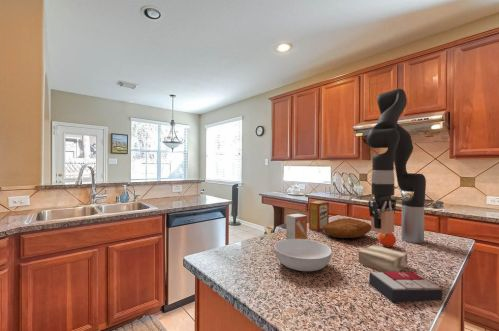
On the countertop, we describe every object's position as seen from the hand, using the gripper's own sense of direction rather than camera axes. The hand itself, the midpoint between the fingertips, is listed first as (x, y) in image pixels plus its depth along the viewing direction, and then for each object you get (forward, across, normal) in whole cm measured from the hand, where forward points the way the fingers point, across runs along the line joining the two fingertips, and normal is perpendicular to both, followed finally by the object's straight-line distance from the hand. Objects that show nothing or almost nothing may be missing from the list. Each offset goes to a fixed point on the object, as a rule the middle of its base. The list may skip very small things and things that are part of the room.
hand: (382, 227), depth 90 cm
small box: (+14, +11, -36) cm, 40 cm away
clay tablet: (+14, -18, -30) cm, 38 cm away
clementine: (+14, -21, -11) cm, 28 cm away
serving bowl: (+14, +27, -14) cm, 34 cm away
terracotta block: (+2, 0, 0) cm, 2 cm away
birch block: (+14, 0, 0) cm, 14 cm away
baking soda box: (+14, -16, -48) cm, 52 cm away
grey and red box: (+15, +13, +14) cm, 24 cm away
